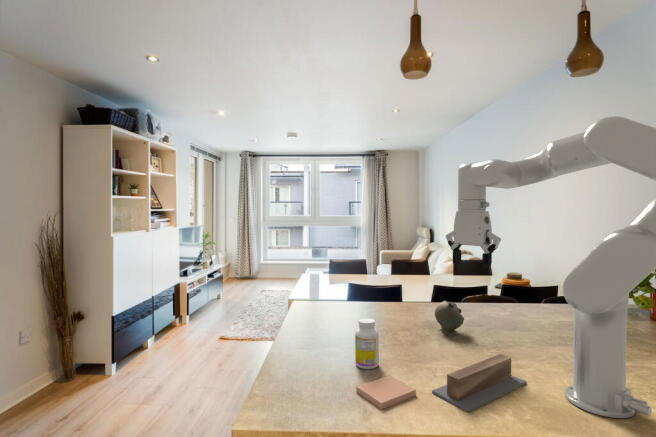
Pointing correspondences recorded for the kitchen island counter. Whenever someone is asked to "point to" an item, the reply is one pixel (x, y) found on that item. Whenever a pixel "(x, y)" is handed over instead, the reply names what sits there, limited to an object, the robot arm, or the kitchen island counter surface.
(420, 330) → the kitchen island counter surface
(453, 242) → the robot arm
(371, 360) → the supplement bottle
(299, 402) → the kitchen island counter surface
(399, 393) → the terracotta tile
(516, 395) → the kitchen island counter surface
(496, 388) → the rubber mat
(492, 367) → the walnut bar
